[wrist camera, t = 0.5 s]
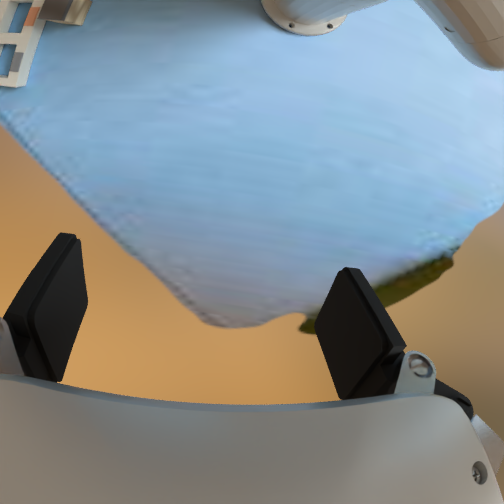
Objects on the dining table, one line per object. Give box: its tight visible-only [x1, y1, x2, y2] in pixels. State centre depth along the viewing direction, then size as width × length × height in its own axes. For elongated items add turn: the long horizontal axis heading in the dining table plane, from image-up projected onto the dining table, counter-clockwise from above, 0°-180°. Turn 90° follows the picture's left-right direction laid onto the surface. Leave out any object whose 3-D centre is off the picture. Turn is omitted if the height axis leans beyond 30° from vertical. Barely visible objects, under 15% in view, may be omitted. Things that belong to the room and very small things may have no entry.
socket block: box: [0, 0, 46, 88], centre depth 24 cm, size 15×10×3 cm, turn 156°
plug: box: [37, 0, 92, 26], centre depth 23 cm, size 4×4×7 cm
